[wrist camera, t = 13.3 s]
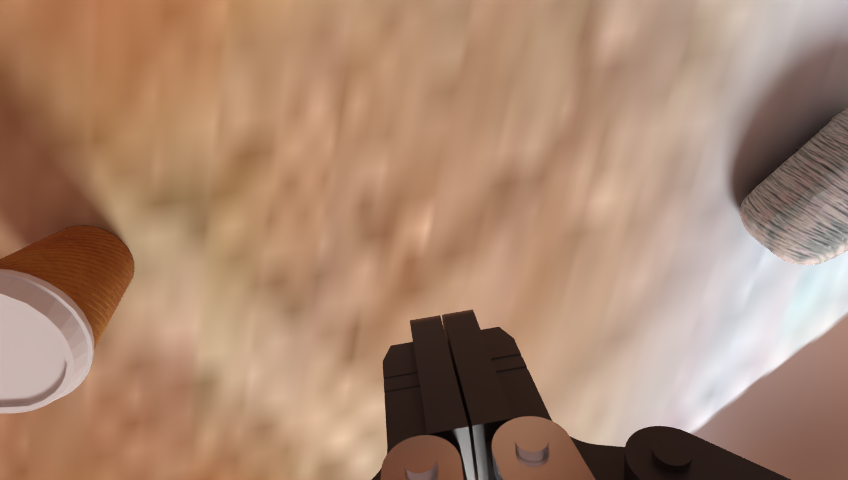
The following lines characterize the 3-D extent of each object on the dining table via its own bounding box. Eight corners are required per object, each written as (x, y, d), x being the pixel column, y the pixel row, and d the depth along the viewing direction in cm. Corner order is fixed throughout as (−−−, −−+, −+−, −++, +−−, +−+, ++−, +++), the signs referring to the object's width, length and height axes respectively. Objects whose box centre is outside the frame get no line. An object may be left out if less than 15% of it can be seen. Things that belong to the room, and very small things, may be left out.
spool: (886, 56, 37) (1006, 151, 32) (879, 122, 44) (977, 209, 38) (703, 163, 43) (778, 260, 37) (723, 206, 50) (789, 294, 44)
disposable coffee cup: (112, 187, 38) (11, 257, 27) (179, 290, 42) (115, 388, 31) (-5, 231, 38) (-151, 317, 27) (73, 329, 42) (-28, 439, 31)
